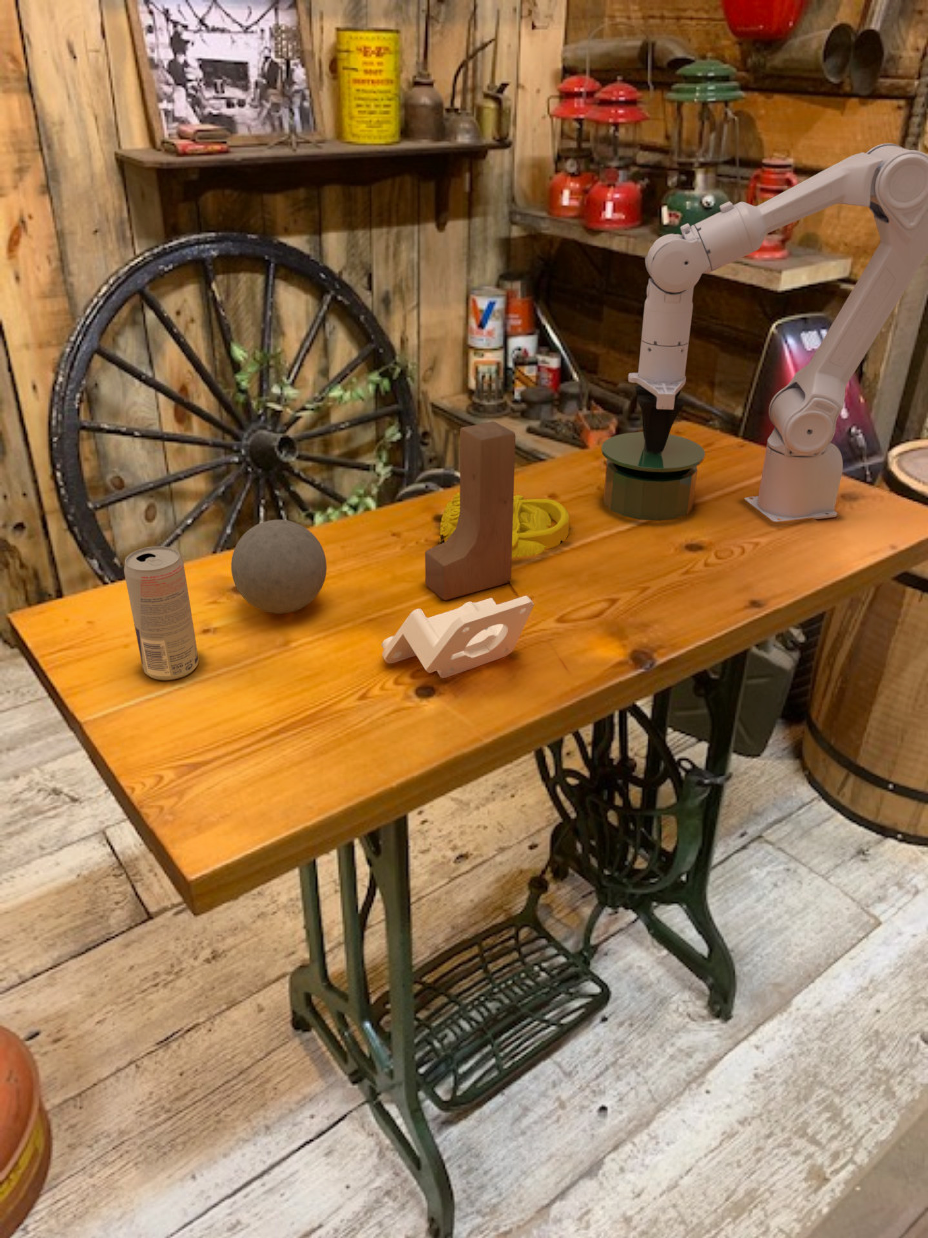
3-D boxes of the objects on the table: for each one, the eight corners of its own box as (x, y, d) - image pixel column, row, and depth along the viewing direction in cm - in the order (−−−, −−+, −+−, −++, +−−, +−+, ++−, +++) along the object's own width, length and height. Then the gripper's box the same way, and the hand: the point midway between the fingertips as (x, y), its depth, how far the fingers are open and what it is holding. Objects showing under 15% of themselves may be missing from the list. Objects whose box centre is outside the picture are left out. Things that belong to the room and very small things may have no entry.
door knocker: (591, 539, 123) (593, 508, 121) (491, 574, 114) (492, 541, 112) (506, 496, 134) (507, 467, 132) (409, 526, 126) (409, 495, 123)
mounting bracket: (404, 702, 95) (427, 635, 87) (375, 653, 98) (394, 584, 90) (506, 666, 101) (536, 600, 93) (475, 620, 104) (501, 552, 96)
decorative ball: (309, 636, 102) (302, 549, 97) (221, 624, 104) (209, 539, 99) (342, 591, 111) (336, 509, 106) (259, 581, 113) (250, 500, 108)
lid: (675, 435, 135) (679, 403, 133) (722, 470, 124) (727, 436, 122) (585, 444, 132) (588, 412, 130) (625, 481, 121) (628, 446, 119)
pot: (667, 485, 138) (672, 445, 135) (707, 518, 128) (713, 476, 125) (590, 493, 135) (593, 452, 132) (624, 528, 125) (628, 485, 122)
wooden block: (443, 602, 109) (442, 447, 99) (424, 585, 112) (421, 433, 103) (512, 583, 112) (517, 432, 103) (491, 567, 116) (494, 419, 107)
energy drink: (177, 646, 100) (159, 540, 94) (210, 664, 97) (194, 556, 91) (132, 668, 97) (110, 559, 91) (165, 688, 94) (145, 577, 88)
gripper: (628, 324, 127) (619, 426, 134) (636, 355, 114) (625, 465, 121) (683, 326, 126) (671, 427, 133) (697, 357, 114) (683, 467, 121)
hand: (653, 446), depth 127 cm, fingers closed on lid, 2 cm apart
